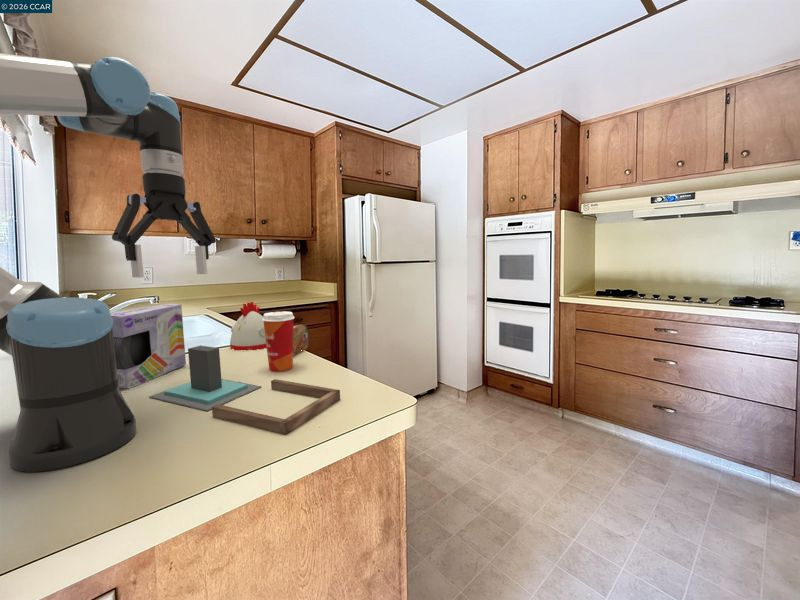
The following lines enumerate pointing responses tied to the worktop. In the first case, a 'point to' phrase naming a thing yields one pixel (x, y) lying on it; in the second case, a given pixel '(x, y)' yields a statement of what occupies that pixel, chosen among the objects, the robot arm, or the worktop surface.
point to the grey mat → (201, 405)
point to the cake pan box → (148, 343)
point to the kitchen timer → (248, 330)
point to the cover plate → (205, 395)
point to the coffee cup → (279, 340)
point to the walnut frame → (278, 424)
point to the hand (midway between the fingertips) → (172, 275)
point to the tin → (300, 339)
